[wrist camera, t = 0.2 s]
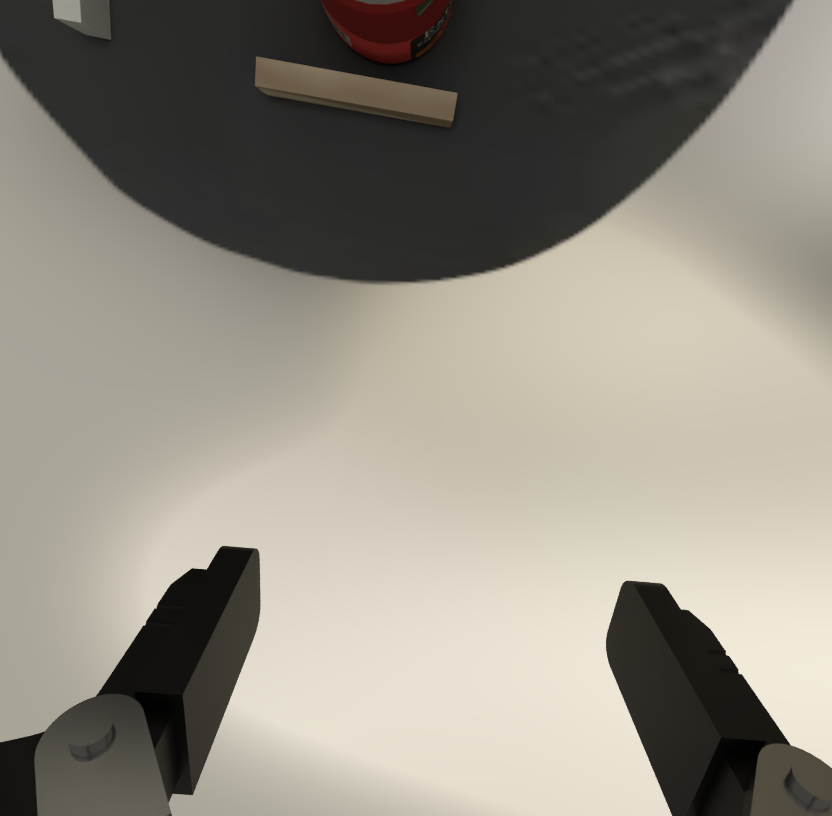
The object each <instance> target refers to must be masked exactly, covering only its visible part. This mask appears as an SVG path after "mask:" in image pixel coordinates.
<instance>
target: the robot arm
mask: <svg viewBox="0 0 832 816" xmlns="http://www.w3.org/2000/svg"><path fill="white" fill-rule="evenodd" d="M259 561H260V559H259V551H258V549H254V548H242V547H229V546H222V547H221V548H220V549H219V550H218V552H217V554H216V555H215V557H214V558H213V560H212V562H211V563H210V565H209V567H208V568H207V570H206V569H205V570H204V569H193V568H192V569H191V570H189V571H188V572H187V573H185V574H184V575H183V576H181V577H180V578H179V579H177V580H176V581H175V582H174V583H172V584H171V585H170V587H169V588H168V589H167V591H166V592H165V594H164V595H163V597H162V599H161V600H160V601H159V603H158V605H157V608H156V609H154V611H153V612H152V614H151V615H150V617H149V618H148V620H147V621H146V625H145V626H143V627H142V629H141V630H140V632H139V633H138V635H137V636H136V638H135V639H134V641H133V642H132V644H131V645H130V647H129V648H128V650H127V651H126V653H125V654H124V656H123V657H122V659H121V660H120V662H119V663H118V665H117V666H116V668H115V669H114V671H113V672H112V674H111V675H110V677H109V678H108V680H107V681H106V683H105V684H104V686H103V687H102V689H101V690H100V692H99V693H98V694H97V695H96V697H93V698H90V699H87V700H85V701H83V702H81V703H79V704H77V705H75V706H73V707H72V708H70V709H68V710H67V711H66V712H64V713H63V714H62V715H60V716H59V717H58V718H57V719H56V720H55V721H54V722H53V723H52V724H51V725H50V726H49V727H48V729H47V730H46V731H45V732H42V733H39V734H35V735H32V736H28V737H23V738H19V739H14V740H10V741H5V742H0V816H172V815H171V811H170V807H169V801H170V798H171V796H172V794H185V795H193V793H194V790H195V788H196V785H197V782H198V780H199V777H200V775H201V772H202V769H203V767H204V764H205V762H206V759H207V756H208V754H209V752H210V749H211V746H212V744H213V741H214V739H215V736H216V734H217V731H218V728H219V726H220V723H221V721H222V718H223V716H224V713H225V710H226V708H227V705H228V703H229V700H230V697H231V695H232V692H233V690H234V687H235V685H236V682H237V680H238V677H239V674H240V672H241V669H242V667H243V664H244V662H245V659H246V656H247V654H248V651H249V649H250V646H251V643H252V641H253V638H254V635H255V633H256V629H257V626H258V621H259V614H260V563H259ZM606 651H607V657H608V661H609V664H610V667H611V669H612V672H613V674H614V677H615V679H616V681H617V684H618V686H619V689H620V691H621V694H622V696H623V698H624V701H625V703H626V706H627V708H628V710H629V713H630V715H631V717H632V720H633V722H634V725H635V727H636V730H637V732H638V734H639V737H640V739H641V742H642V744H643V746H644V749H645V751H646V754H647V756H648V758H649V761H650V763H651V766H652V768H653V770H654V773H655V775H656V777H657V780H658V783H659V785H660V787H661V790H662V792H663V794H664V797H665V799H666V802H667V804H668V807H669V809H670V811H671V814H672V816H832V768H831V767H829V766H828V765H827V764H825V763H824V762H823V761H821V760H820V759H818V758H816V757H815V756H813V755H812V754H810V753H808V752H806V751H804V750H802V749H799V748H796V747H794V746H791V745H790V744H789V742H788V741H787V739H786V738H785V736H784V735H783V733H782V732H781V731H780V729H779V728H778V726H777V725H776V723H775V722H774V721H773V719H772V718H771V716H770V715H769V713H768V712H767V710H766V709H765V708H764V706H763V705H762V703H761V702H760V700H759V699H758V697H757V696H756V694H755V693H754V691H753V690H752V689H751V687H750V686H749V684H748V683H747V681H746V680H745V679H744V677H743V676H742V674H738V668H737V667H736V666H735V664H734V663H733V661H732V660H731V658H730V657H729V656H726V651H725V650H724V648H723V647H722V645H721V644H720V642H719V641H718V639H717V638H716V637H715V635H714V634H713V632H712V631H711V629H709V628H708V627H707V626H706V625H705V624H704V623H702V622H701V621H700V620H699V619H698V618H697V617H695V616H694V615H693V614H692V613H691V612H690V611H689V610H681V609H680V608H679V606H678V604H677V603H676V601H675V600H674V598H673V597H672V595H671V594H670V592H669V591H668V589H667V588H666V587H665V586H664V585H663V584H660V583H649V582H637V581H625V582H624V583H623V585H622V587H621V589H620V592H619V596H618V599H617V603H616V606H615V609H614V613H613V616H612V619H611V622H610V626H609V629H608V633H607V638H606Z"/></svg>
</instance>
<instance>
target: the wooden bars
mask: <svg viewBox="0 0 832 816" xmlns="http://www.w3.org/2000/svg"><path fill="white" fill-rule="evenodd" d="M255 86H256V87H257V88H258V89H260V90H261V91H262V92H264V93H265V94H266V95H269V96H275V97H280V98H286V99H291V100H297V101H303V102H308V103H314V104H320V105H325V106H331V107H336V108H342V109H348V110H353V111H359V112H365V113H370V114H376V115H381V116H387V117H393V118H398V119H404V120H409V121H415V122H421V123H426V124H432V125H438V126H443V127H449V128H451V125H452V123H453V118H454V112H455V106H456V99H457V93H454V92H449V91H443V90H438V89H432V88H427V87H421V86H416V85H410V84H405V83H399V82H394V81H388V80H383V79H377V78H372V77H366V76H361V75H355V74H350V73H344V72H339V71H333V70H328V69H322V68H316V67H311V66H305V65H300V64H294V63H289V62H283V61H278V60H272V59H267V58H261V57H256V75H255Z"/></svg>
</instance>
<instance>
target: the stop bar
mask: <svg viewBox="0 0 832 816" xmlns="http://www.w3.org/2000/svg"><path fill="white" fill-rule="evenodd" d="M53 8H54V18H56V19H57V20H59V21H61V22H63V23H65V24H67V25H68V26H70V27H72V28H74V29H76V30H78V31H80V32H81V33H83V34H85V35H88V36H93V37H99V38H104V39H110V40H111V24H110V3H109V0H53Z"/></svg>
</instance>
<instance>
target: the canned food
mask: <svg viewBox="0 0 832 816" xmlns="http://www.w3.org/2000/svg"><path fill="white" fill-rule="evenodd" d="M320 1H321V3H322V5H323V7H324V9H325V11H326V13H327V15H328V17H329V20H330V22H331V23H332V25H333V27H334V28H335V30H336V32H337V33H338V35H339V36H340V37H341V38H342V39H343V40H344V42H345V43H346V44H347V45H348V46H349V47H350V48H352V49H353V50H354V51H356V52H357V53H358V54H360V55H362V56H364V57H366V58H368V59H370V60H373V61H376V62H380V63H390V64H397V63H402V62H407V61H410V60H412V59H414V58H417V57H419V56H420V55H422V54H423V53H425V52H426V51H427V50H429V49H430V48H431V47H432V46H433V45H434V43H435V42H436V41H437V40H438V39H439V38H440V36H441V34H442V33H443V31H444V29H445V27H446V26H447V23H448V20H449V17H450V15H451V12H452V6H453V1H454V0H320Z"/></svg>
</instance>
